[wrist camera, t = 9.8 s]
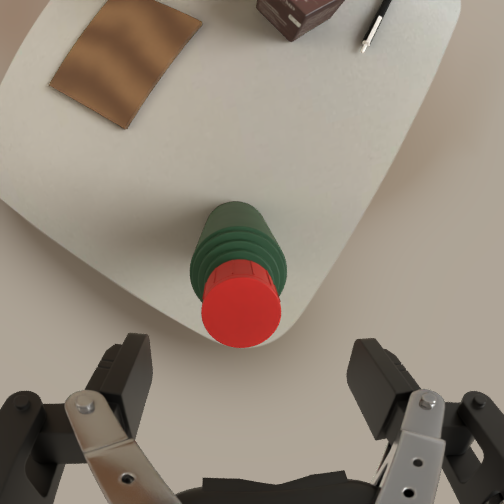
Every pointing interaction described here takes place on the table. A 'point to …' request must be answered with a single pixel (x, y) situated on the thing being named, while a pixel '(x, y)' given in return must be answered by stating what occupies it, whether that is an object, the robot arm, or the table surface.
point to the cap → (240, 304)
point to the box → (297, 14)
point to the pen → (375, 24)
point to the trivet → (123, 56)
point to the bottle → (236, 245)
